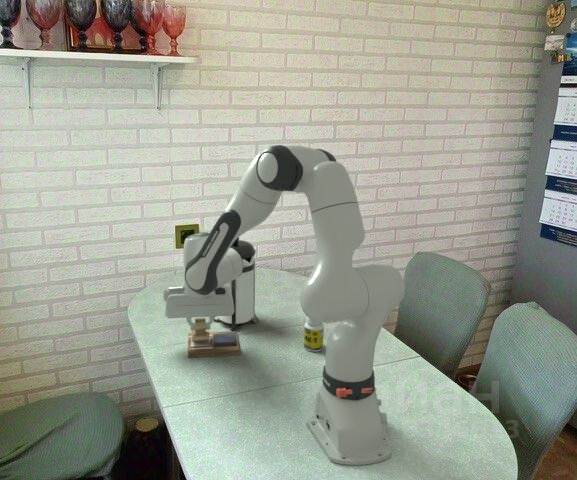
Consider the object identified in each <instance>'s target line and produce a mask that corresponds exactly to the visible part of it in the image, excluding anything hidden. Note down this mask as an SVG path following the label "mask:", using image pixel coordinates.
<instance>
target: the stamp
mask: <svg viewBox="0 0 577 480" xmlns="http://www.w3.org/2000/svg"><path fill="white" fill-rule="evenodd" d="M194 320H195V321H194V323H195V330H191V333H192V341H193V342H202V341H209V340H210V336H209V332H210V330H206V324H205V322H206V317H194Z"/></svg>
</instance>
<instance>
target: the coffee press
mask: <svg viewBox="0 0 577 480" xmlns="http://www.w3.org/2000/svg"><path fill="white" fill-rule="evenodd" d="M230 248H232V249H234V250H236V251H237V252H238V253H239V254H240V256H241V258H242V260H243V271H242V274H241V275H240V276H239V277H238V278H236V279H234V280H233V281H231V282H229V286H230V291H231V293H232V297H233V303H234V314H233V315H232V316H217V319H215V318H216V316H214V320H213V322H218V321H221V322H223V323H226V324H231V327H230V330H231V331H237V330H236V329H237V328H236V327H237V325H239V324H245V323H247V322H249V321H251V322H253V323H254V324H255V323H256V324H257V323H258V322H259V317H258V316H257V315H256V313H255V312H256V311H255V310H256V308H255V307H256V305H255V304H256V297H255V296H256V261H255V255H256V249H255V247H254V245H253V244H252V243H251V242H249V241H246V240H240V237H238V238H237V239H236V240H235V241H234V242H233V244H232V245H231V246H230ZM253 317H254V318H255V319H256V320H255V319H253Z"/></svg>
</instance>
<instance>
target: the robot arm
mask: <svg viewBox="0 0 577 480" xmlns="http://www.w3.org/2000/svg"><path fill="white" fill-rule="evenodd" d="M244 171H245V172H244V174H243V175H242V177H241V178H240V180H239V181H240V182H239V184H238V186H237V188H236V189H235V192H234V194H233V195H232V197H231V199H230V200H229V202H228V204H227V205H226V207H225V209H224V210H223V212H222V213H221V215H220V216H219V218H218V219H217V221H216V222H215V224H214V226H213V227H212V229H211V230H210V232H205V231H203V232H197V233H193V234H190V235H188V236H187V237H186V238H185V239H184V243H183V253H182V254H183V255H182V257H183V259H182V260H183V266H184V275H183V286H175V287H174V286H171V287H168V288H166V289H165V290H164V291H163V299H164V301H165V309H164V310H165V312H164V313H165V317H166V318H167V319H183V318H185V319H186V323H187V324H188V325H189V326H190V331H192V330H195V322H193V321H192V318H206V317H207V318H208V319H209V320H208V321H205V324H206V330H209V331H210V330H211V325H212V323H213V322H214V319H215V318H214V316H215V317H218V316H232V315H233V314H234V303H233V297H232V293H231V291H230V286H229V282H231V281H233V280H234V279H236V278H238V277H239V276H240V275H241V274H242V271H243V260H242V258H241V256H240V254H239V253H238V252H237V251H236V250H234V249H232V248H230V246H231V245H232V244H233V242H234V241H235V240H236V239H237V238H238V237H239V238H240V237H241V236H242V235H243V234H245V233H247V232H248V231H250V230H251V229H254V228H256V227H257V226H259V225H261V224H262V223H264V222H265V221H266V220H267V219H268V218H269V216H270V215H271V214H272V213H273V211H274V209H275V208H276V207H277V205H278V202H279V201H280V198H281V197H282V194H283V192H290V193H291V192H293V193H294V192H295V193H302V194H303V193H304V195H305V197H306V199H307V201H308V207H309V211H310V215H311V222H312V225H313V232H314V238H315V244H316V256H315V260H314V265H313V268H312V270H311V273H310V275H308V278H307V279H306V280H305V281H304V283H303V284H302V287H301V289H300V294H299V303H300V307H301V309H302V312H303V313H304V315H305V316H306V318H307V317H308V318H309V319H310V320H311V321H313V322H316V323H323V324H328V323H329V324H330V323H333V324H334V323H338V324H337V325H336V326H335V327H333V329H332V330H331V331H330V333H329V334H328V335H327V338H326V344H325V362H324V363H325V364H324V365H323V367H322V368H323V369H322V370H323V371H322V375H321V377H322V384H321V386H320V387H319V388H318V390H317V391H316V392H315V397H314V406H313V407H314V408H313V415H312V416H310V417H309V418H308V419H307V421H306V426H307V427H308V429H309V430H310V432H311V433H312V435H313V436H314V438H315V439H316V441H317V442H318V444H319V445H320V447H321V449H322V450H323V452H324V454H326V456H327V458H328V459H329V460H330V462H333V463H335V464H339V465H346V466H348V465H349V466H356V465H357V466H359V465H368V464H369V465H370V464H375V463H376V464H377V463H379V462H383V461H385V460H387V459H389V458H390V457H392V450H391V445H390V439H389V435H388V431H387V426H386V424H387V423H388V415H387V413H386V412H381V410H380V408H379V406H382V399H378V395H377V387H376V385H375V383H376V376H375V370H374V362H375V361H374V359H375V352H376V344H377V341H378V338H379V335H380V332H381V330H382V329H383V326H384V324H385V322H386V320H387V319H388V317H389V316H390V314H391V313H392V311H393V310H394V309H395V308H396V307H398V305H399V304H400V303H401V302H402V300H403V299H404V296H405V293H406V292H405V290H406V289H405V288H406V287H405V286H406V285H405V280H404V278H403V276H402V274H401V272H400V271H399V270H398V269H397V268H396V267H395V266H393V265H388V264H374V263H371V264H369V265H363V266H357V267H353V258H354V257H353V256H354V253H355V251H356V250H357V249H358V248H359V247H361V245H362V244H363V243H364V240H365V238H366V237H365V236H366V232H365V230H366V229H365V227H364V221H363V218H362V214H361V210H360V204H359V201H358V197H357V194H356V191H355V188H354V185H353V182H352V180H351V179H352V178H351V177H350V175H349V172H348V170H347V168H346V167H345V166H344V165H343V164H342V163H341V162H338V161H337V159H336V158H335V156H334V155H333V154H332V153H331V152H329V151H327V150H324V149H322V148H312V147H307V146H302V145H292V144H291V145H282V144H276V145H271V146H269V147H266V148H264V149H263V150H261V152H259V153H257V154H256V155H255V156H254V158H253V159H252V160H251V162H250V163H249V165H248V167H247V168H246V170H244Z"/></svg>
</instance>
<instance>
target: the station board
mask: <svg viewBox="0 0 577 480" xmlns="http://www.w3.org/2000/svg"><path fill="white" fill-rule="evenodd" d="M209 336H210V340H209V341H202V342H193V341H192V332H190V333H187V357H188V358H198V357H213V356H215V357H216V356H217V357H219V356H230V355H231V356H234V355H240V353H241V351H240V345H239V340H238V333H237V330H235V331H232V330H231V331H212V332H211V331H209Z"/></svg>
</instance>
